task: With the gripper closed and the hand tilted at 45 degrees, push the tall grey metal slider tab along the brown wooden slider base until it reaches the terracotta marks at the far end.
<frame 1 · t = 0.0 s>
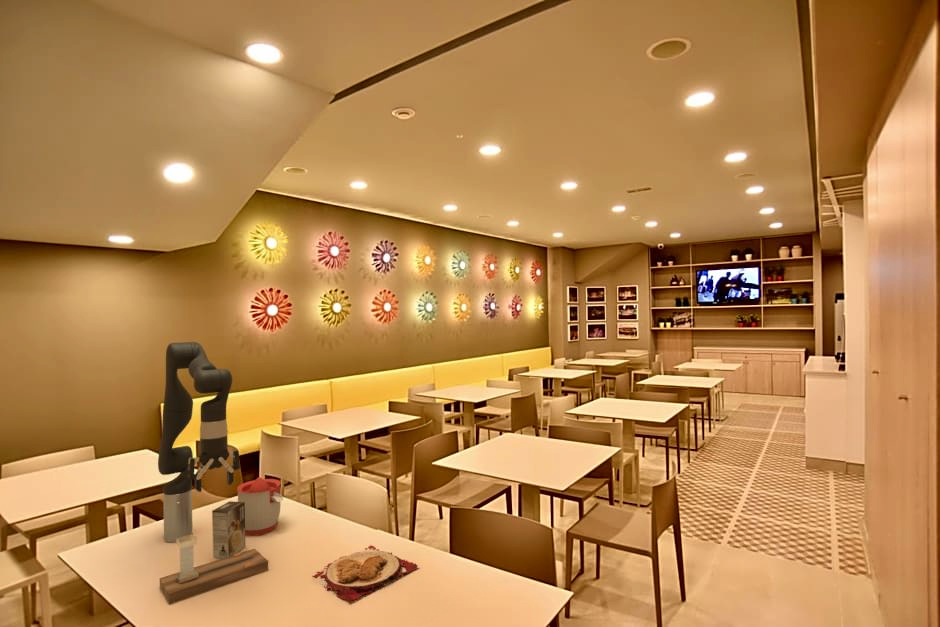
hand: (214, 487, 155), 29 cm above the table, tool pointing down, fingers open, 8 cm apart
citrus juicer: (261, 530, 194), on the table
coffee box: (229, 552, 176), on the table
brown wooden slider base: (215, 578, 158), on the table
slider tab: (186, 557, 153), point 9 cm above the table, slide at 0.0 cm
plate with food: (361, 575, 161), on the table
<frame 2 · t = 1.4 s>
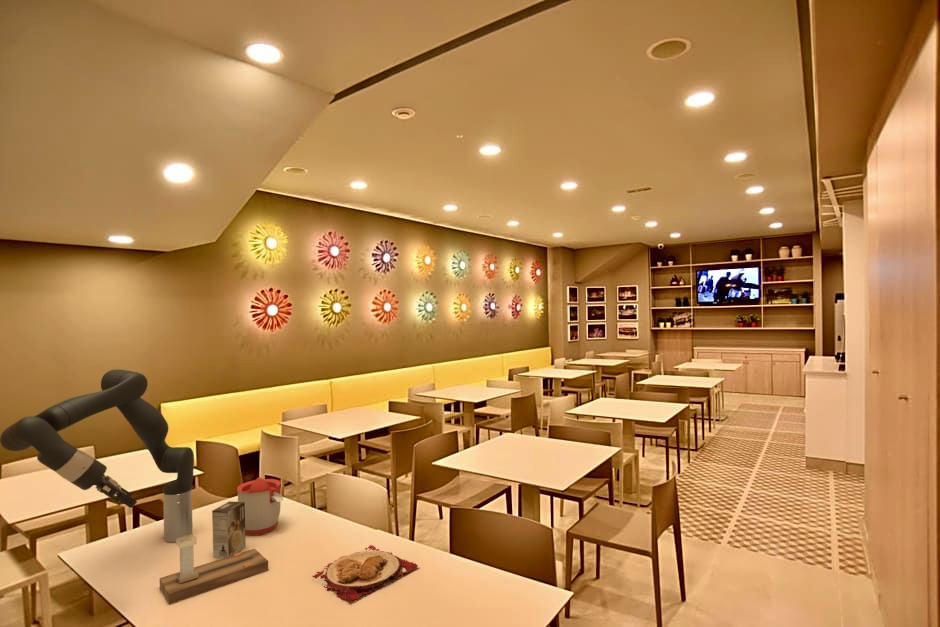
hand: (131, 500, 147), 29 cm above the table, tool tilted 45°, fingers open, 7 cm apart
nothing on the table moved.
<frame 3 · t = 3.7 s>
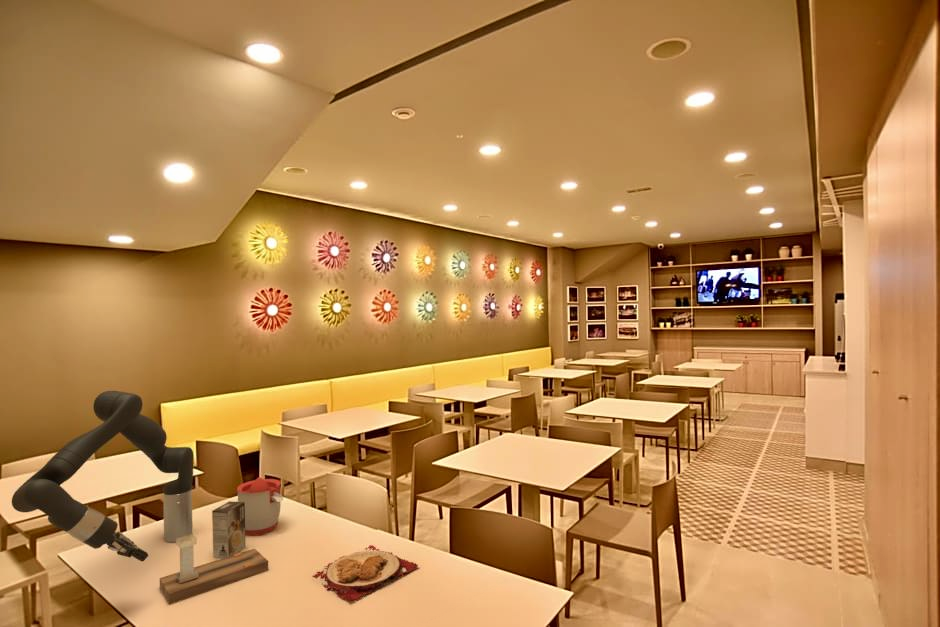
hand: (145, 557, 146), 13 cm above the table, tool tilted 45°, fingers closed
nothing on the table moved.
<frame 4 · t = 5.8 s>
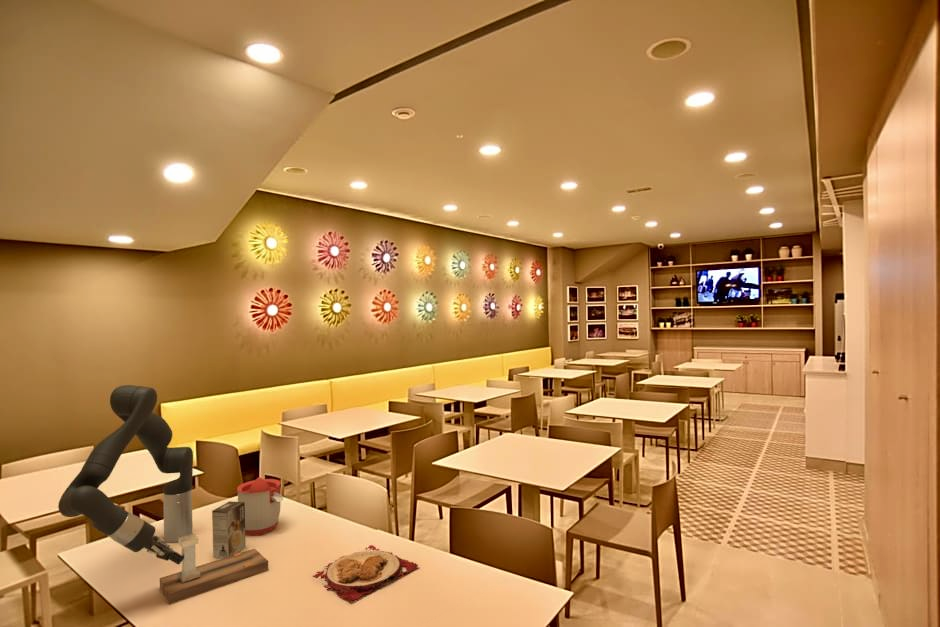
hand: (180, 560, 152), 9 cm above the table, tool tilted 45°, fingers closed
slider tab: (188, 557, 153), point 9 cm above the table, slide at 0.5 cm, touching gripper
everything else where it was.
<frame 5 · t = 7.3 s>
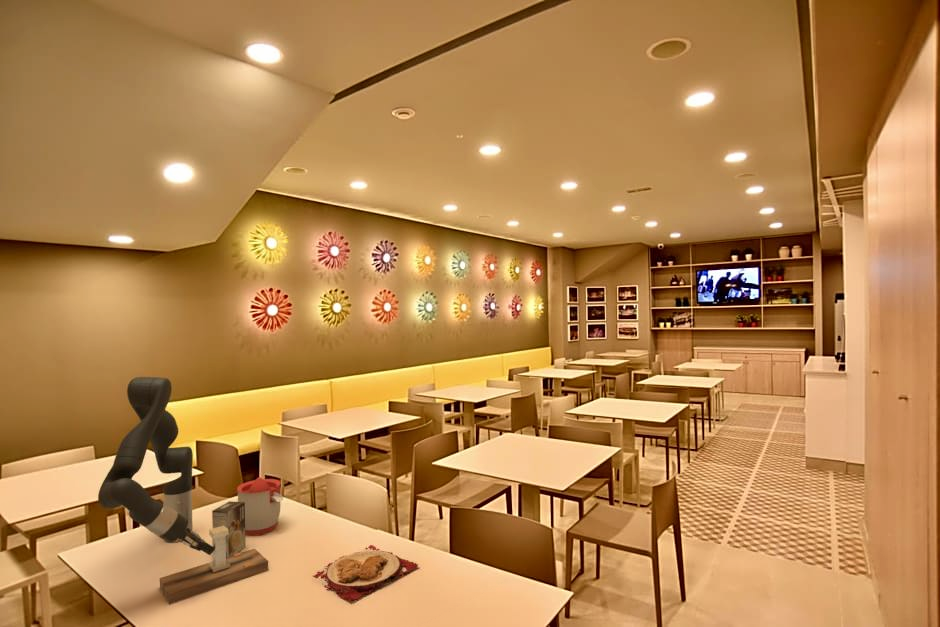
hand: (211, 551, 158), 9 cm above the table, tool tilted 45°, fingers closed
slider tab: (219, 548, 159), point 9 cm above the table, slide at 9.1 cm, touching gripper
everything else where it was.
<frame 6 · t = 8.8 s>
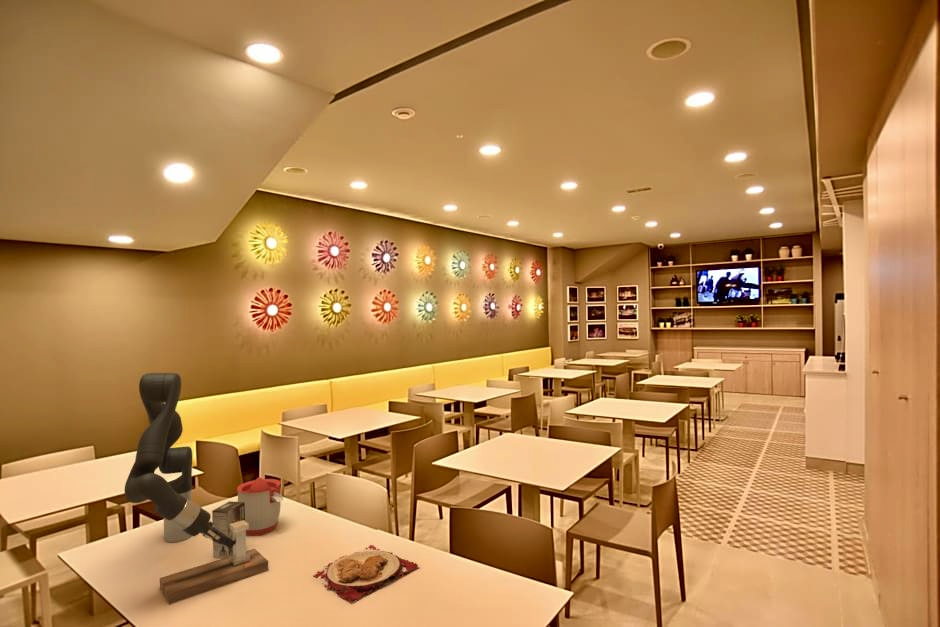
hand: (232, 545, 162), 9 cm above the table, tool tilted 45°, fingers closed
slider tab: (239, 542, 163), point 9 cm above the table, slide at 15.2 cm, touching gripper
everything else where it was.
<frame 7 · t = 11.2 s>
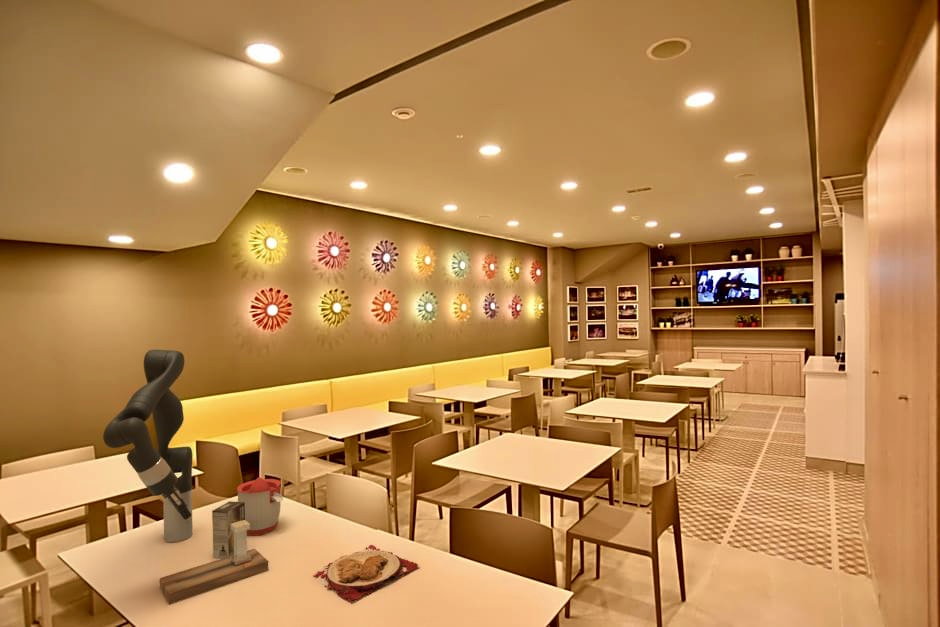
hand: (187, 516, 158), 20 cm above the table, tool tilted 30°, fingers closed
slider tab: (240, 541, 163), point 9 cm above the table, slide at 15.5 cm
everything else where it was.
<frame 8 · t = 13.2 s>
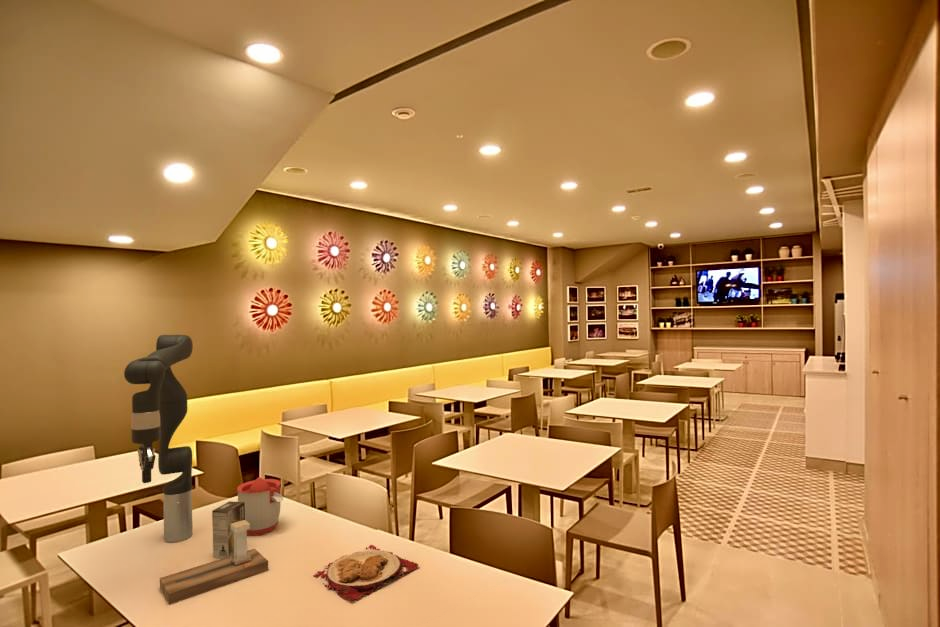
hand: (146, 482, 156), 31 cm above the table, tool pointing down, fingers closed
nothing on the table moved.
at the end: slider tab slide at 15.5 cm; coffee box moved 0.2 cm from its start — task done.
